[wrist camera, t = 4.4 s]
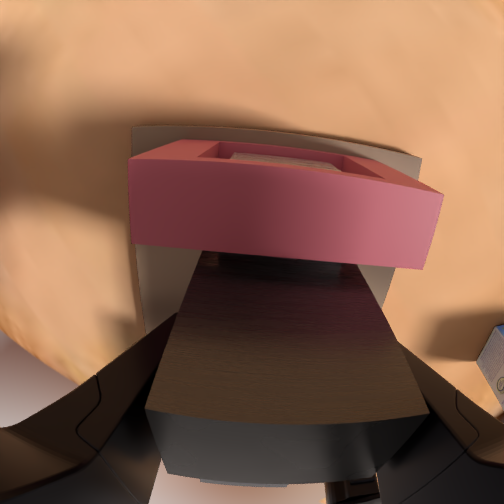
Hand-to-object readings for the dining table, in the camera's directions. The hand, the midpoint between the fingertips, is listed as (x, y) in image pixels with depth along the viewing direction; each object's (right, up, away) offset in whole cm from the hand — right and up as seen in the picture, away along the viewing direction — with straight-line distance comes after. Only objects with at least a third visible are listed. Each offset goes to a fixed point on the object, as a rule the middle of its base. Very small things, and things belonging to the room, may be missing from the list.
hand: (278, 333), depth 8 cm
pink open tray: (0, +6, +5) cm, 8 cm away
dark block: (0, 0, +7) cm, 7 cm away
